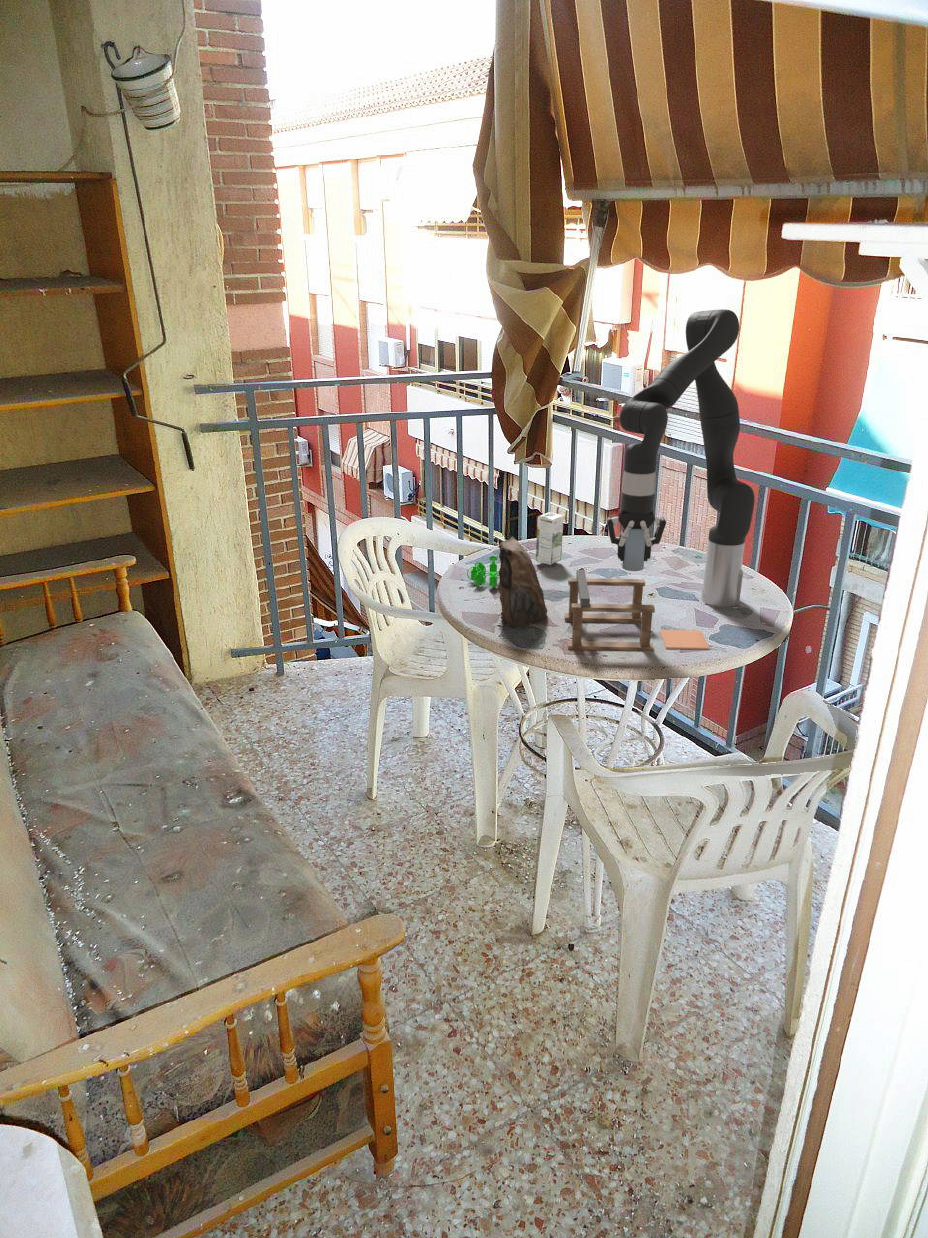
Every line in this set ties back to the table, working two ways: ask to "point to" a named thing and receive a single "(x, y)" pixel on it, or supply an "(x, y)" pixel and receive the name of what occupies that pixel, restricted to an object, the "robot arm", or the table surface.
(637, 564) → the grey-blue cylinder
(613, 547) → the table surface
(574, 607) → the gantry
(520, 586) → the brown pointed rock
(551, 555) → the syrup box
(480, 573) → the chandelier
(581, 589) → the bar
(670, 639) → the terracotta tile
